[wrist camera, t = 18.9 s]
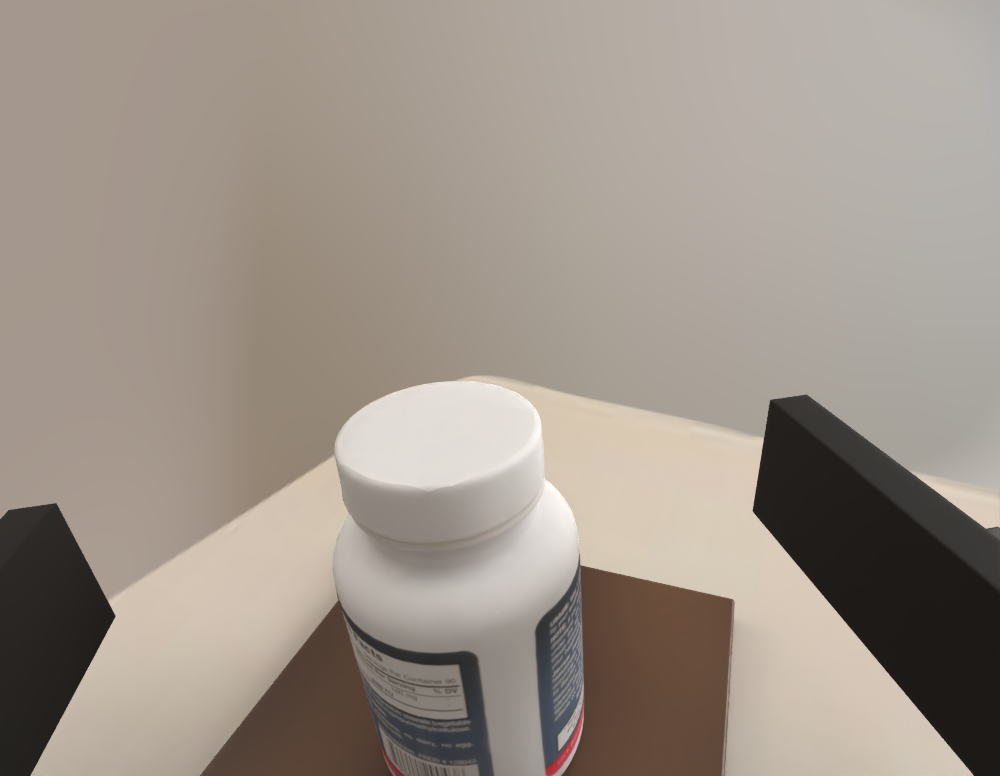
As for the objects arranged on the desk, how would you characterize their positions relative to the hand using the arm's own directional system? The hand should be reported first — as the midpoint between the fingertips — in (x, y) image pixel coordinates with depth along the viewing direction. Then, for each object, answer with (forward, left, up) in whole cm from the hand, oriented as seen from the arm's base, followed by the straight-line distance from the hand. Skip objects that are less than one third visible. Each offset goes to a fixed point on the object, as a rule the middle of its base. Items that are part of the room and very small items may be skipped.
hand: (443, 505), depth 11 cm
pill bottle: (0, +1, -8) cm, 8 cm away
